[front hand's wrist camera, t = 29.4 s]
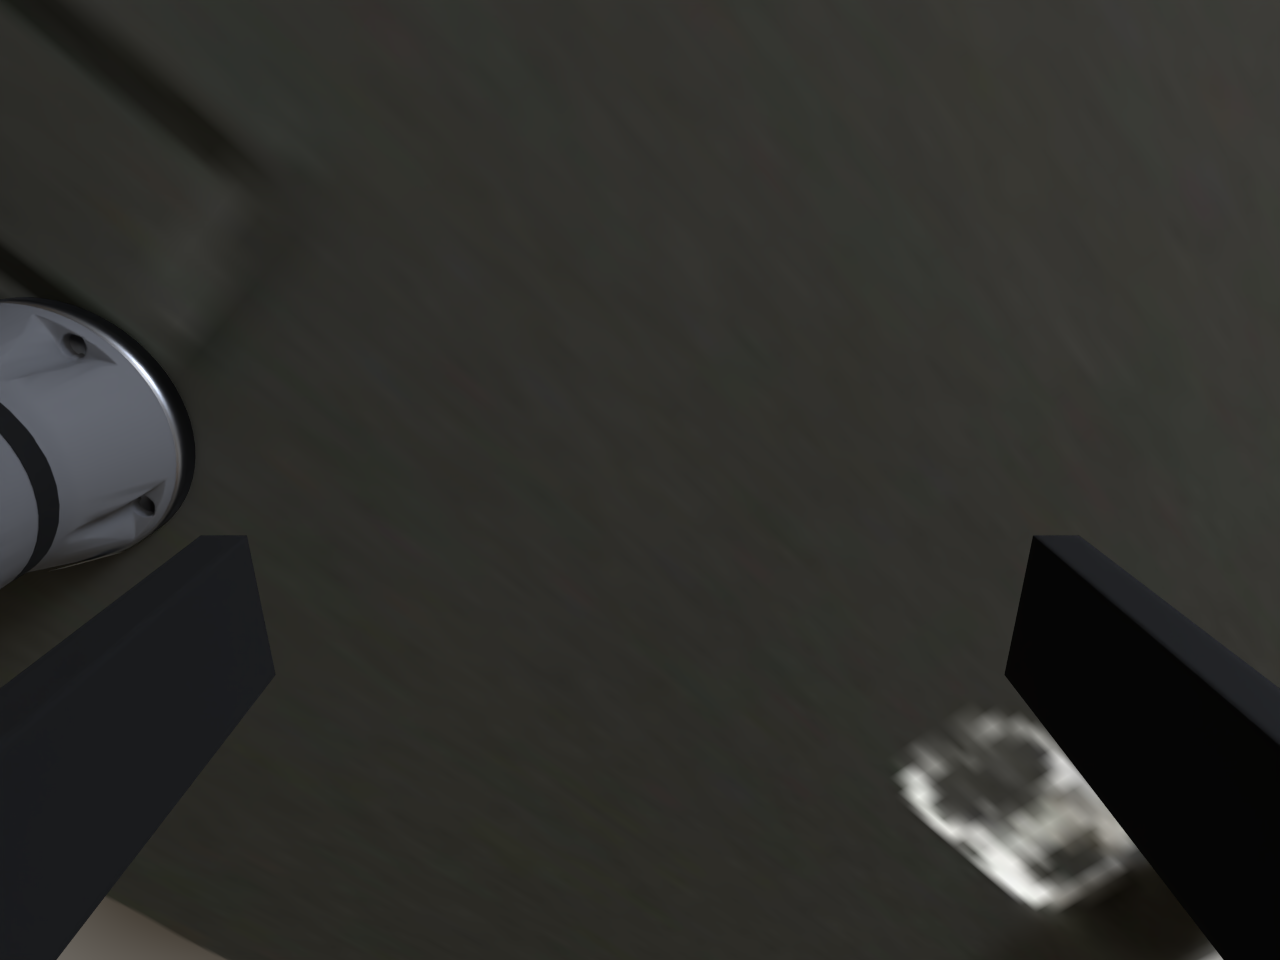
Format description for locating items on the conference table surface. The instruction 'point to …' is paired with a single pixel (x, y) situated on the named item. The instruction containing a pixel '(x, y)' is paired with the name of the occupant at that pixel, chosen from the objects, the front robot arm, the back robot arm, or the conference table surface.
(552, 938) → the conference table surface
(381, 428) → the conference table surface
